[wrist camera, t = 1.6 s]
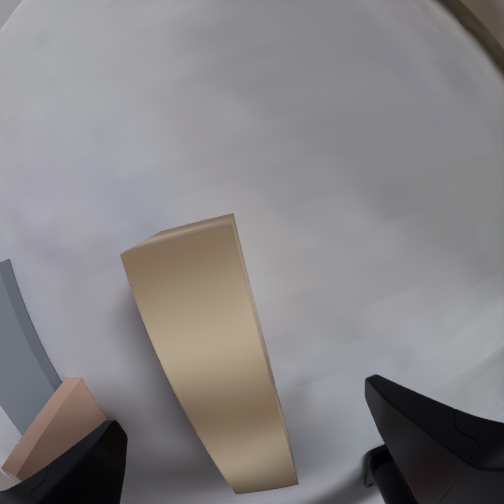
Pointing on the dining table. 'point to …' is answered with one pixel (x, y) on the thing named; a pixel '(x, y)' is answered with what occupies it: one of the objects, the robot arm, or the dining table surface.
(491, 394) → the dining table surface
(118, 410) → the dining table surface
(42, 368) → the mat
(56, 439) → the tile
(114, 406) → the dining table surface
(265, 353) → the curved wooden plank
